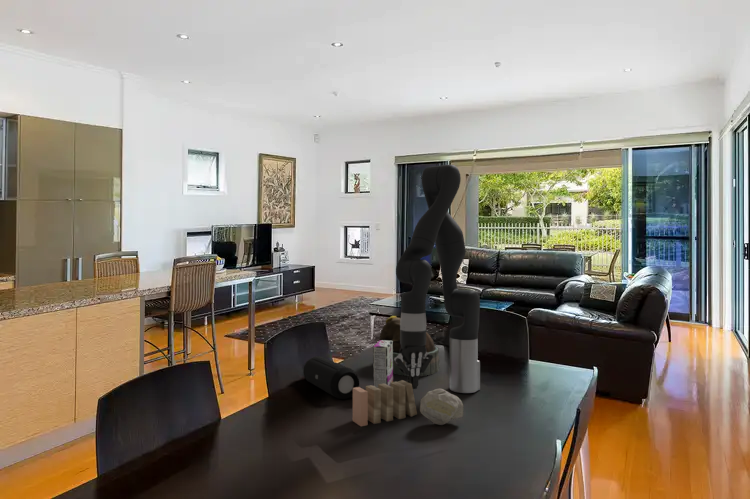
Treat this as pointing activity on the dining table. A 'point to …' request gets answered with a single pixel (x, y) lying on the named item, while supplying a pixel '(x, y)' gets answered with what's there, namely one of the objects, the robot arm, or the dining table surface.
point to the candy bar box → (383, 362)
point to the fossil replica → (441, 406)
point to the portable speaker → (331, 377)
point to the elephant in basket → (393, 334)
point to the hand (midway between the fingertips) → (412, 388)
